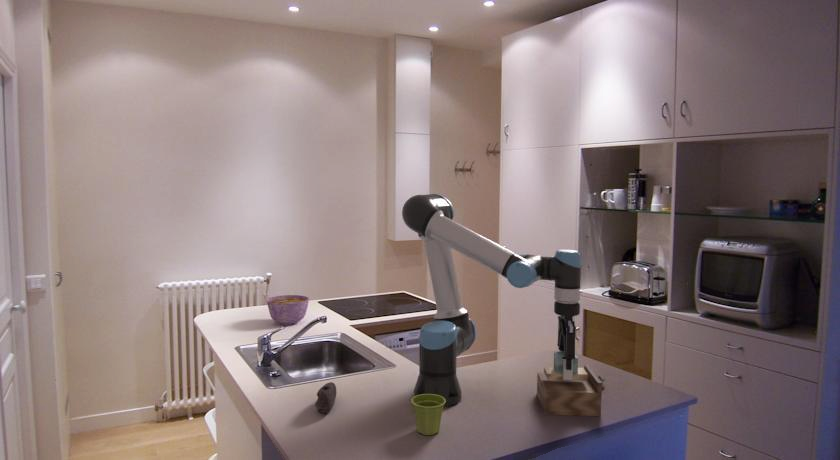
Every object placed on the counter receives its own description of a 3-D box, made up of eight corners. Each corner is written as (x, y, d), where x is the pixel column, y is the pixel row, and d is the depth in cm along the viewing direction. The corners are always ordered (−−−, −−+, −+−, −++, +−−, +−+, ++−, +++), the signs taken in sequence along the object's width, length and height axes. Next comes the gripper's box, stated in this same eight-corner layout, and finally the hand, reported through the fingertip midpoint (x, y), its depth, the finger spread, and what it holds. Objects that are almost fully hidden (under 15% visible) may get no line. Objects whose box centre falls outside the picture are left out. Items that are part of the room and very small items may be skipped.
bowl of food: (259, 327, 254) (258, 302, 253) (277, 316, 274) (277, 294, 273) (300, 329, 251) (299, 304, 250) (315, 318, 271) (315, 295, 270)
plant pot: (409, 423, 153) (410, 393, 153) (443, 422, 154) (443, 393, 154) (412, 439, 144) (412, 407, 143) (447, 438, 145) (447, 406, 144)
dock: (545, 414, 160) (546, 381, 159) (536, 393, 176) (537, 363, 175) (600, 416, 159) (602, 382, 159) (587, 395, 175) (588, 364, 174)
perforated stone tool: (325, 396, 173) (325, 375, 172) (341, 397, 172) (341, 376, 172) (312, 417, 158) (312, 393, 157) (330, 417, 157) (330, 394, 157)
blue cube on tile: (547, 380, 164) (547, 357, 164) (543, 373, 170) (544, 351, 170) (587, 380, 164) (588, 358, 163) (582, 373, 170) (583, 351, 169)
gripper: (587, 308, 155) (585, 387, 157) (572, 294, 174) (570, 365, 176) (560, 307, 156) (559, 386, 158) (548, 294, 175) (547, 365, 177)
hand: (565, 375), depth 167 cm, fingers closed on blue cube on tile, 6 cm apart
